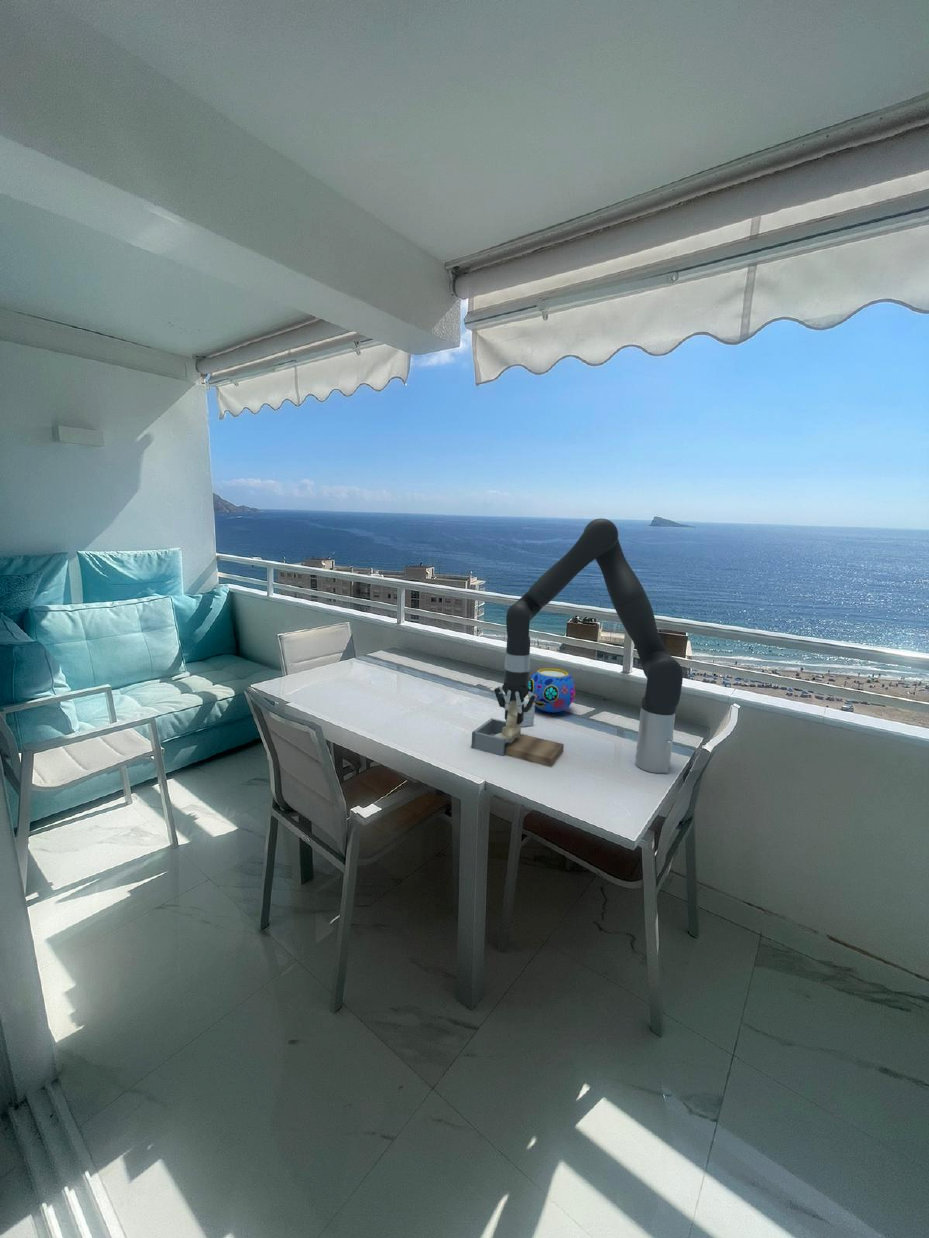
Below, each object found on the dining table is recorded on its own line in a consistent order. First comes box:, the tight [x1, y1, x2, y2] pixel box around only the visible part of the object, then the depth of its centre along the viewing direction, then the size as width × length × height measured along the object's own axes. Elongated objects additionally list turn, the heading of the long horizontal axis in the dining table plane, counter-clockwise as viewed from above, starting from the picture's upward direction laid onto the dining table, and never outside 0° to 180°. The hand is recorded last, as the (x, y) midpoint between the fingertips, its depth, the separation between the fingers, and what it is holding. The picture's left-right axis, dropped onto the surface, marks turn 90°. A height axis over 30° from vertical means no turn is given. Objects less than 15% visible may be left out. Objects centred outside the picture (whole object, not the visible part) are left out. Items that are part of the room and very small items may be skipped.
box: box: [471, 717, 522, 757], centre depth 151 cm, size 10×14×5 cm
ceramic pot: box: [528, 667, 576, 714], centre depth 182 cm, size 18×18×15 cm
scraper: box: [501, 700, 522, 740], centre depth 147 cm, size 3×8×11 cm, turn 152°
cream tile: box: [495, 733, 510, 743], centre depth 150 cm, size 5×5×2 cm
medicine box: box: [520, 698, 536, 728], centre depth 167 cm, size 8×4×9 cm, turn 111°
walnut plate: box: [505, 733, 565, 768], centre depth 145 cm, size 14×12×2 cm
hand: (513, 722), depth 147 cm, fingers closed on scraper, 3 cm apart
